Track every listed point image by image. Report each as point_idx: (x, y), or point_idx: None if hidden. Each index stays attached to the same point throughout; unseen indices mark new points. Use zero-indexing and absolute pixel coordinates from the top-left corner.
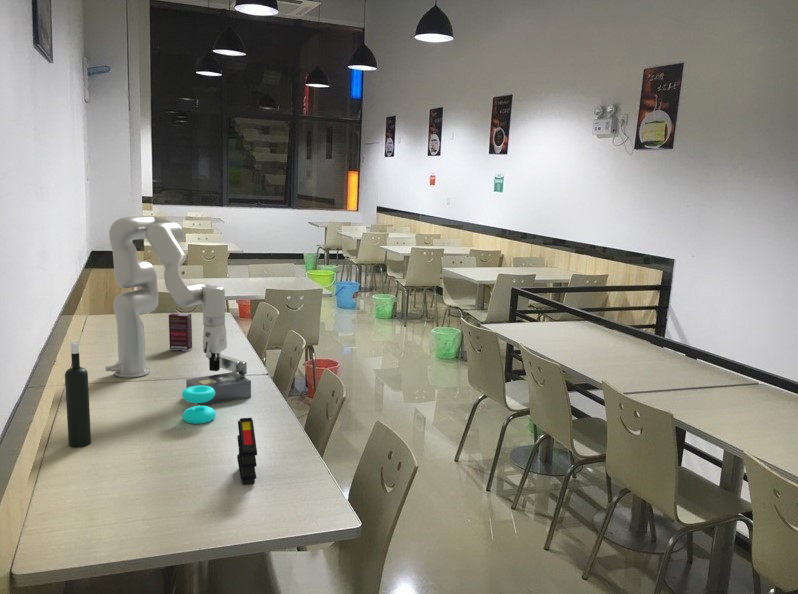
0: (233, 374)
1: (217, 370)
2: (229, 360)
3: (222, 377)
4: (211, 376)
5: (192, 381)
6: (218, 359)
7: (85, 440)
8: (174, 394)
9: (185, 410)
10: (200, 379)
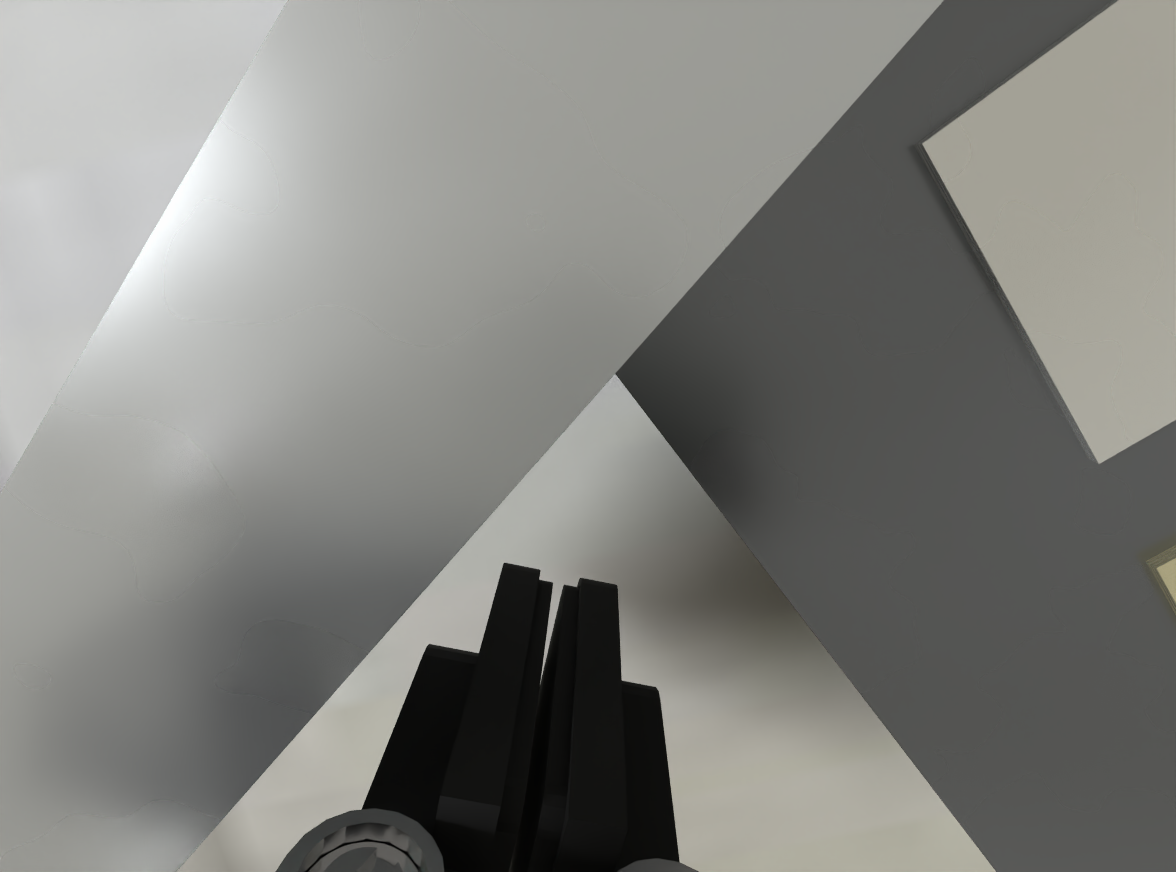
0: None
1: (612, 591)
2: (655, 314)
3: (1069, 352)
4: (900, 620)
5: None
6: (441, 830)
7: None
8: (842, 849)
9: None
10: (1104, 769)
